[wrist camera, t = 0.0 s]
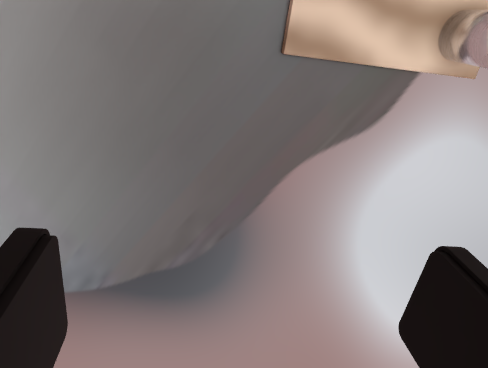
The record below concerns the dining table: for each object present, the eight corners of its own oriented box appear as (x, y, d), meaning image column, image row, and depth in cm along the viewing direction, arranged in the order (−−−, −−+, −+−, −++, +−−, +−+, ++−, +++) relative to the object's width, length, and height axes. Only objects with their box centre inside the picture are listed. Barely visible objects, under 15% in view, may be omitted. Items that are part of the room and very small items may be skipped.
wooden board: (305, -89, 31) (309, -93, 30) (516, -47, 35) (526, -48, 34) (281, 52, 37) (283, 53, 36) (467, 77, 40) (474, 79, 39)
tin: (449, 6, 35) (493, 5, 30) (492, 13, 36) (543, 14, 31) (431, 58, 37) (469, 66, 32) (472, 63, 38) (516, 73, 33)
